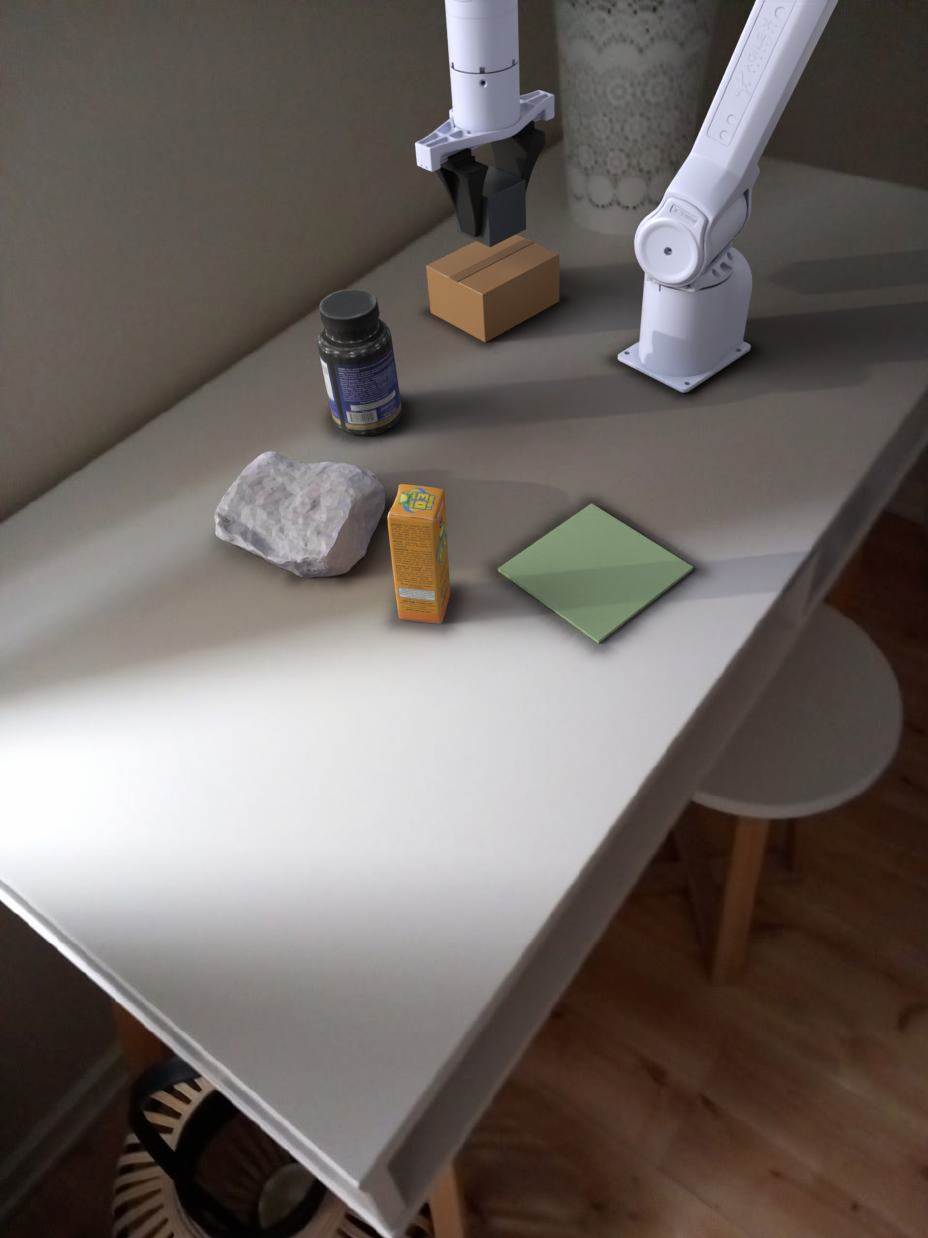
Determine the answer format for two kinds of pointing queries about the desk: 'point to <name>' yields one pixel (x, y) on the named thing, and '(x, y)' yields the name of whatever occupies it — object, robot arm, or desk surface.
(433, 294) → the storage box
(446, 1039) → the desk surface
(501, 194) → the small box
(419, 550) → the supplement box
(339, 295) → the pill bottle
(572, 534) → the mat
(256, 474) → the stone block
